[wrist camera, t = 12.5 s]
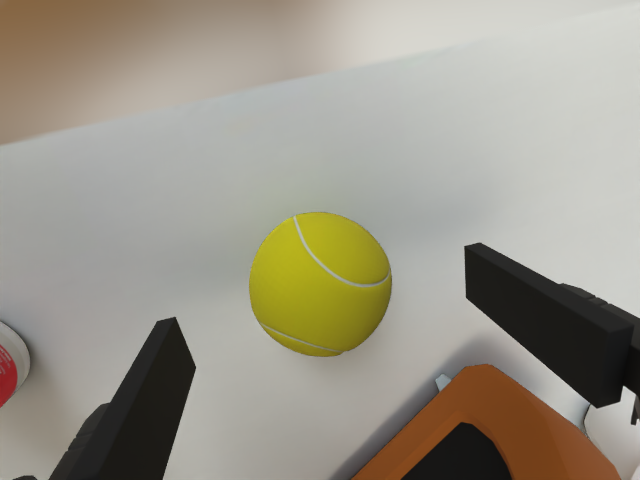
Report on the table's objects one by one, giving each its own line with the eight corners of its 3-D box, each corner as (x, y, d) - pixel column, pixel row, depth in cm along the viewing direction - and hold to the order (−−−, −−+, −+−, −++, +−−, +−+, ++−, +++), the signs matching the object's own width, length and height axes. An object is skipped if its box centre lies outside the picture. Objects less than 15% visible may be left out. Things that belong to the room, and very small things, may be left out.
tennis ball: (280, 180, 18) (289, 210, 11) (385, 226, 20) (445, 275, 13) (235, 285, 19) (219, 365, 13) (336, 319, 21) (367, 403, 15)
